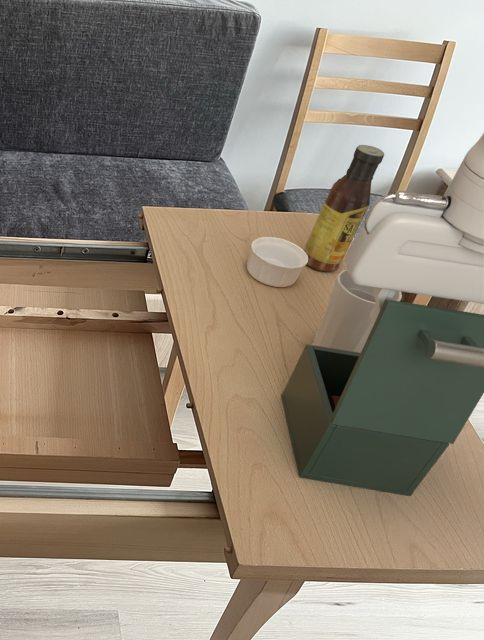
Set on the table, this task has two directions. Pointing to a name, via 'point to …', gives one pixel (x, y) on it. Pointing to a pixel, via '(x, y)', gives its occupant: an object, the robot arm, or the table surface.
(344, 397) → the bin lid
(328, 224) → the sauce bottle
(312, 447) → the trash can
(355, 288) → the cup
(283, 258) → the ramekin
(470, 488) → the table surface
